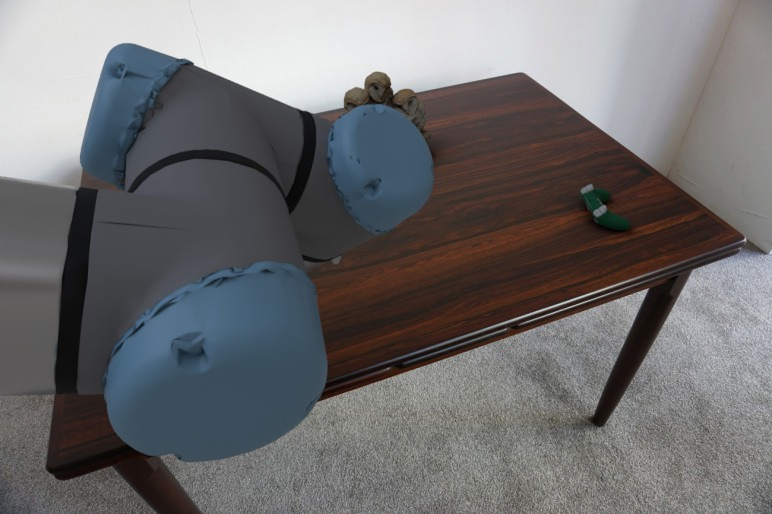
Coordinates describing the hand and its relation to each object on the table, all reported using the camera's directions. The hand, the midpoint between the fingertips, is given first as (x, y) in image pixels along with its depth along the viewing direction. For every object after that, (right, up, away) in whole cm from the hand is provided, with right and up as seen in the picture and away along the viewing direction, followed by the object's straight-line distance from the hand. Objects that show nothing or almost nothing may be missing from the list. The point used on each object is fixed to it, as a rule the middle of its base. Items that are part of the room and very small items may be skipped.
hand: (201, 293), depth 59 cm
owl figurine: (+21, +22, +41) cm, 51 cm away
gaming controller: (+56, +11, +27) cm, 63 cm away
